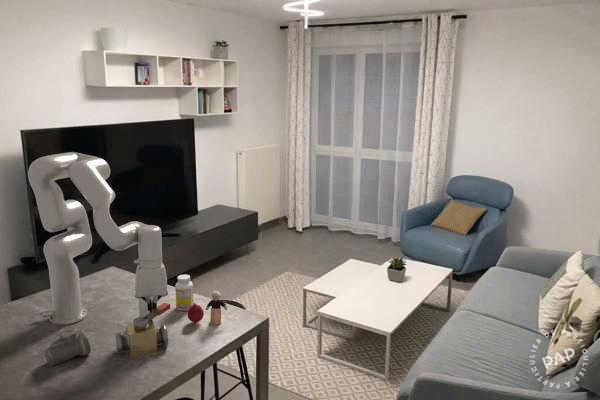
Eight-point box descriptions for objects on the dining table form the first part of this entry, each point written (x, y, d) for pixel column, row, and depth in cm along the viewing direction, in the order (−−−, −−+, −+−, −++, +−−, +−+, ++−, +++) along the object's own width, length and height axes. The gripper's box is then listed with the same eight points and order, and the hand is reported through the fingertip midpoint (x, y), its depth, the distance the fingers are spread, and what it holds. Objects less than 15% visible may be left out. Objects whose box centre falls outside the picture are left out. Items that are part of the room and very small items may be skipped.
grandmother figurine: (206, 326, 173) (205, 294, 170) (205, 321, 176) (205, 289, 173) (227, 325, 174) (227, 292, 171) (227, 320, 178) (226, 288, 175)
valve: (118, 360, 150) (116, 337, 148) (116, 348, 157) (114, 325, 156) (168, 350, 157) (167, 328, 155) (164, 338, 164) (163, 317, 162)
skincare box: (149, 321, 175) (148, 291, 172) (139, 320, 176) (137, 290, 173) (157, 314, 181) (156, 284, 178) (147, 312, 182) (146, 283, 179)
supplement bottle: (182, 302, 191) (181, 272, 188) (197, 305, 189) (196, 275, 186) (172, 309, 185) (171, 278, 182) (187, 312, 183) (186, 281, 180)
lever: (142, 330, 152) (141, 324, 152) (130, 327, 154) (130, 321, 153) (172, 310, 166) (172, 304, 166) (161, 307, 168) (161, 301, 168)
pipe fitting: (84, 344, 158) (78, 318, 154) (93, 356, 152) (88, 330, 149) (45, 361, 150) (38, 334, 146) (53, 375, 145) (47, 347, 141)
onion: (206, 321, 177) (206, 301, 175) (198, 328, 171) (198, 307, 170) (193, 318, 179) (192, 298, 177) (184, 325, 173) (183, 304, 171)
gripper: (126, 267, 155) (128, 319, 160) (173, 265, 159) (175, 315, 164) (127, 259, 162) (130, 309, 167) (173, 257, 166) (174, 305, 171)
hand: (152, 312), depth 165 cm, fingers closed
